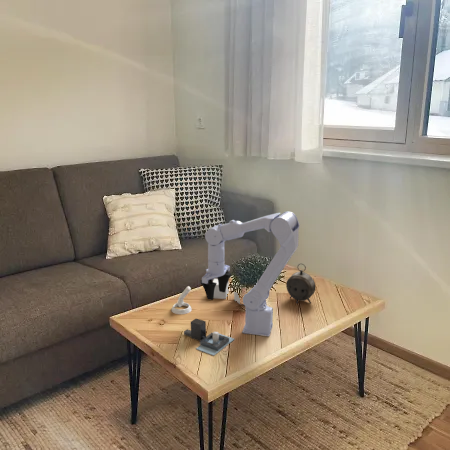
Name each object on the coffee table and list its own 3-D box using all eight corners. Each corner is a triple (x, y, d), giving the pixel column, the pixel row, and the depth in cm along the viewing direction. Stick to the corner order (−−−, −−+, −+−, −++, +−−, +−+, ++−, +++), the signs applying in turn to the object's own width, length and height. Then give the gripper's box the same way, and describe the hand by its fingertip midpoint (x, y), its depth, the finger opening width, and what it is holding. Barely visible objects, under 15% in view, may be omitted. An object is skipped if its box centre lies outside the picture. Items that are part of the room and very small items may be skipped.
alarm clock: (315, 302, 184) (317, 264, 179) (309, 307, 179) (312, 268, 175) (289, 296, 189) (291, 258, 185) (283, 301, 185) (285, 262, 180)
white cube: (214, 292, 193) (214, 278, 191) (228, 293, 192) (228, 279, 190) (211, 298, 187) (211, 284, 186) (225, 299, 186) (226, 285, 185)
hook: (203, 302, 172) (187, 294, 169) (185, 323, 176) (169, 315, 174) (202, 290, 178) (187, 282, 176) (184, 310, 183) (169, 303, 180)
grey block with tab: (179, 337, 157) (178, 321, 156) (191, 329, 163) (191, 313, 161) (217, 350, 149) (216, 333, 147) (229, 341, 154) (228, 324, 153)
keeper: (196, 349, 151) (196, 337, 149) (217, 333, 160) (217, 322, 159) (213, 355, 147) (213, 344, 146) (234, 339, 156) (234, 328, 155)
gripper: (218, 251, 171) (218, 285, 174) (194, 263, 159) (195, 299, 163) (234, 255, 167) (234, 290, 171) (211, 267, 155) (211, 305, 159)
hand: (216, 295), depth 166 cm, fingers open, 7 cm apart
